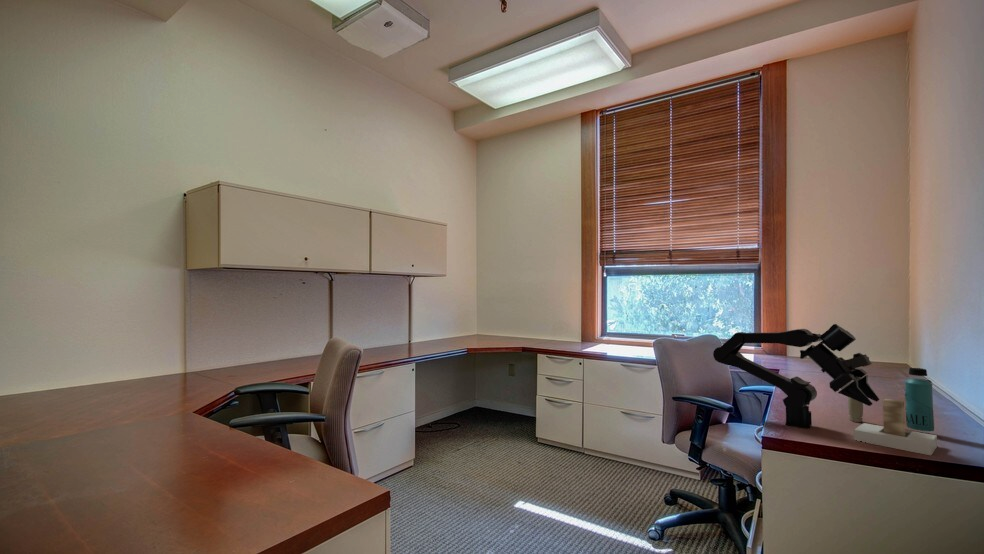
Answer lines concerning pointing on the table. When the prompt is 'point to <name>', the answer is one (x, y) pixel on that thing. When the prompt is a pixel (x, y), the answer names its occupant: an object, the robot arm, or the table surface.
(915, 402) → the beverage bottle
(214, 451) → the table surface
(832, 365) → the robot arm
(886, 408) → the plug
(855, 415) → the handle
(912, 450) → the block
